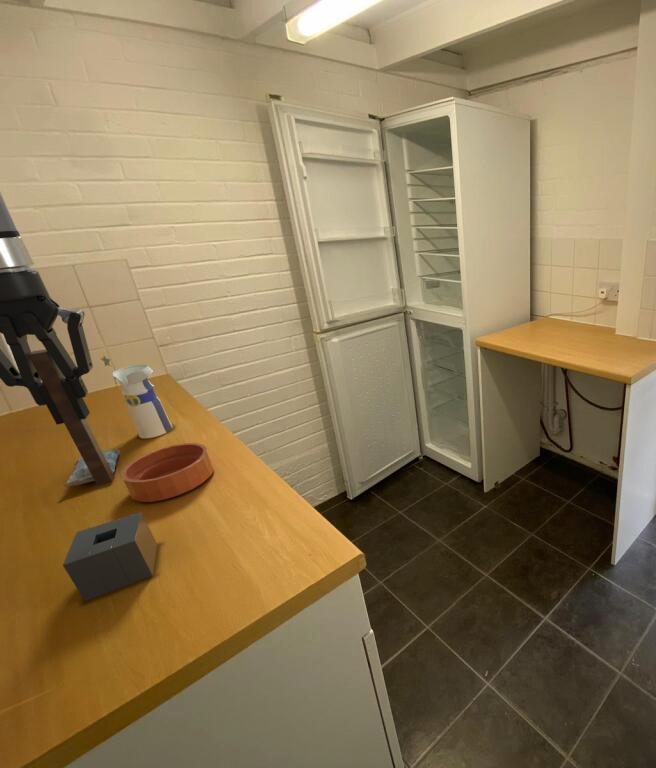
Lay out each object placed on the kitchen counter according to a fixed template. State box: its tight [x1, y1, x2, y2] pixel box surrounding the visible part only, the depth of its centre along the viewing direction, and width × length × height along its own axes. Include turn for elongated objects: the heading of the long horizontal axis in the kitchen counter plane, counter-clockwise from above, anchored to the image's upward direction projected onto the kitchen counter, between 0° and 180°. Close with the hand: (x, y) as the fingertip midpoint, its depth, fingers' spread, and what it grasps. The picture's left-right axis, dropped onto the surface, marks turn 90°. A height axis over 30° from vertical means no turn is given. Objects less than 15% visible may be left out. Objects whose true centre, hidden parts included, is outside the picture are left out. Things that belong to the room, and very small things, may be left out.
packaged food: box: [63, 449, 121, 487], centre depth 100 cm, size 9×12×5 cm
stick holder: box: [62, 511, 158, 602], centre depth 72 cm, size 9×9×8 cm
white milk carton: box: [100, 354, 173, 439], centre depth 115 cm, size 8×9×25 cm
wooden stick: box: [28, 348, 115, 486], centre depth 68 cm, size 2×2×24 cm
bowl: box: [120, 442, 215, 503], centre depth 96 cm, size 16×16×6 cm
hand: (73, 418), depth 68 cm, fingers closed on wooden stick, 2 cm apart
